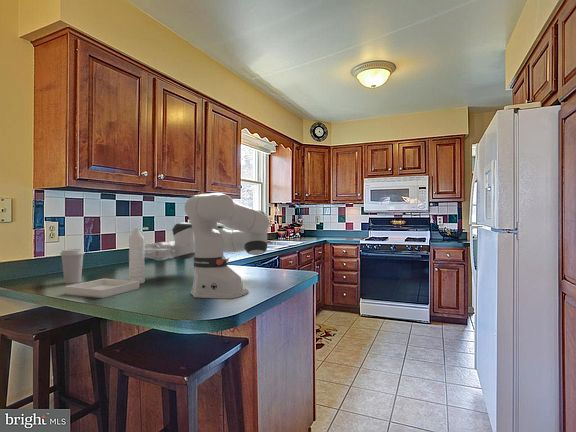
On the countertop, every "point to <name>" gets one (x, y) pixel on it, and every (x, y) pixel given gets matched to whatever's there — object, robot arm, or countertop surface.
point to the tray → (101, 288)
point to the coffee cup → (72, 265)
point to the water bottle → (136, 256)
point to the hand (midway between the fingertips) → (138, 254)
